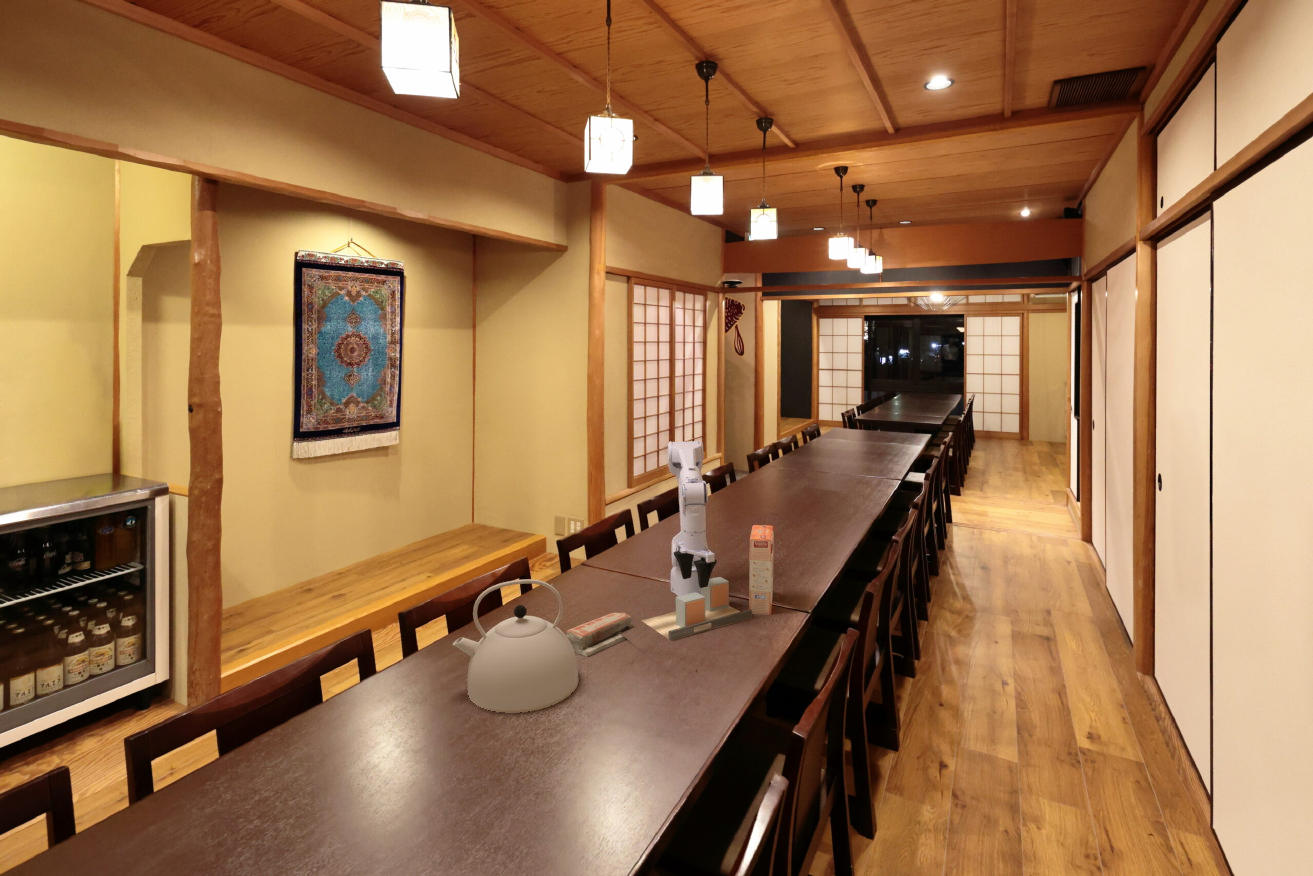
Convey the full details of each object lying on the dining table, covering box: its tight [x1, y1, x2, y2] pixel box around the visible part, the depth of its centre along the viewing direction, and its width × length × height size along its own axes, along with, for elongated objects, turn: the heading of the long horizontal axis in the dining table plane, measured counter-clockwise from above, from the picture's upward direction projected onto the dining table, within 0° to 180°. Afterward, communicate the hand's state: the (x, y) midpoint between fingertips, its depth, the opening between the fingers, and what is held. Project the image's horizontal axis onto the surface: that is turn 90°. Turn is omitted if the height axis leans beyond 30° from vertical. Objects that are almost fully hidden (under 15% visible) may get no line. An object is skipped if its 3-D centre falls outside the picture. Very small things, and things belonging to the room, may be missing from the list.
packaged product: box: [565, 612, 633, 658], centre depth 161 cm, size 18×5×10 cm
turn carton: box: [675, 592, 705, 628], centre depth 165 cm, size 4×6×7 cm
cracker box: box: [748, 524, 775, 616], centre depth 176 cm, size 14×6×21 cm, turn 168°
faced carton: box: [701, 576, 730, 612], centre depth 175 cm, size 4×6×7 cm
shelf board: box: [641, 605, 753, 641], centre depth 168 cm, size 14×24×3 cm, turn 121°
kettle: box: [452, 578, 580, 714], centre depth 138 cm, size 25×23×22 cm
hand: (695, 582), depth 169 cm, fingers open, 7 cm apart
